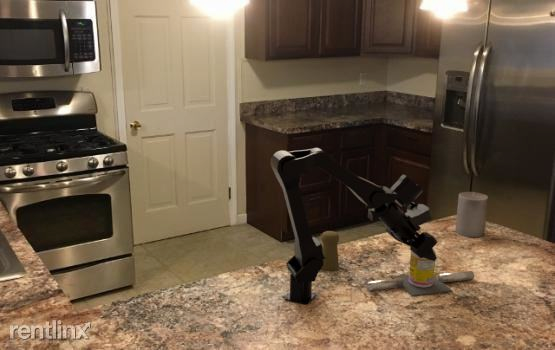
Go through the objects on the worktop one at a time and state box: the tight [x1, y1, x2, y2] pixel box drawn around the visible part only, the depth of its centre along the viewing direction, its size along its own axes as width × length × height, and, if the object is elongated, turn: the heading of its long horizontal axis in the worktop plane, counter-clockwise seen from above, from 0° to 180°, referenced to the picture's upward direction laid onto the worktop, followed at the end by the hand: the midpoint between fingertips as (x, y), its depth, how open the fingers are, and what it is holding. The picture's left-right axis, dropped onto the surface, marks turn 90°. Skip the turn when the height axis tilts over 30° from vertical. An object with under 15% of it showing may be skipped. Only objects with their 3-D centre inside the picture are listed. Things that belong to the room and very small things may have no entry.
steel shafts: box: [365, 270, 475, 291], centre depth 155 cm, size 32×2×2 cm, turn 105°
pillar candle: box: [454, 191, 489, 238], centre depth 195 cm, size 10×10×15 cm
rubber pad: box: [391, 274, 453, 297], centre depth 155 cm, size 12×12×1 cm
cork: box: [320, 230, 340, 273], centre depth 164 cm, size 6×6×11 cm
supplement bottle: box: [408, 248, 437, 288], centre depth 153 cm, size 7×7×13 cm
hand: (427, 254), depth 154 cm, fingers open, 8 cm apart
